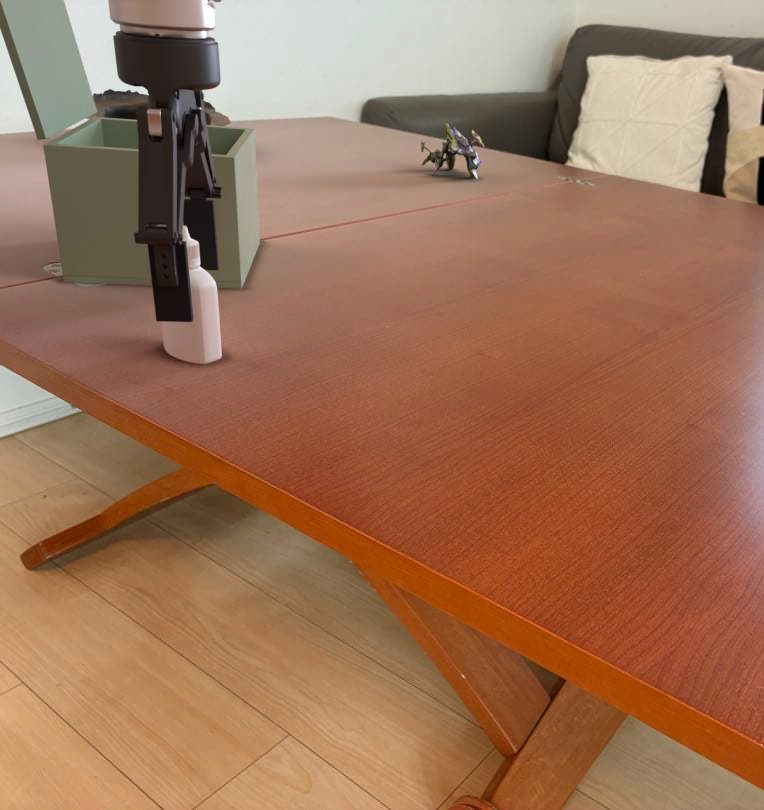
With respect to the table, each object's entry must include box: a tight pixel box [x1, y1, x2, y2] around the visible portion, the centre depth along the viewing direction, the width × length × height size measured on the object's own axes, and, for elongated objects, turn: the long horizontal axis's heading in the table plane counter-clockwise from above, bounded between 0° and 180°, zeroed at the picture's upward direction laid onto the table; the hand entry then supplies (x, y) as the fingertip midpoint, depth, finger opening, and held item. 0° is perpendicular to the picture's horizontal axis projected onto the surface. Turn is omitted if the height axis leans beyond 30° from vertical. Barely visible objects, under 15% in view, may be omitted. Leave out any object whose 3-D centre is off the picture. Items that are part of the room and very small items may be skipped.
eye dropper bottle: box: [160, 226, 223, 365], centre depth 75 cm, size 4×6×12 cm
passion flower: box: [420, 122, 486, 180], centre depth 157 cm, size 11×11×12 cm
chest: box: [42, 117, 261, 290], centre depth 97 cm, size 18×18×14 cm
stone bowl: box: [85, 88, 231, 127], centre depth 150 cm, size 25×25×9 cm
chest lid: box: [0, 0, 97, 141], centre depth 87 cm, size 19×18×1 cm
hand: (190, 292), depth 75 cm, fingers open, 13 cm apart
